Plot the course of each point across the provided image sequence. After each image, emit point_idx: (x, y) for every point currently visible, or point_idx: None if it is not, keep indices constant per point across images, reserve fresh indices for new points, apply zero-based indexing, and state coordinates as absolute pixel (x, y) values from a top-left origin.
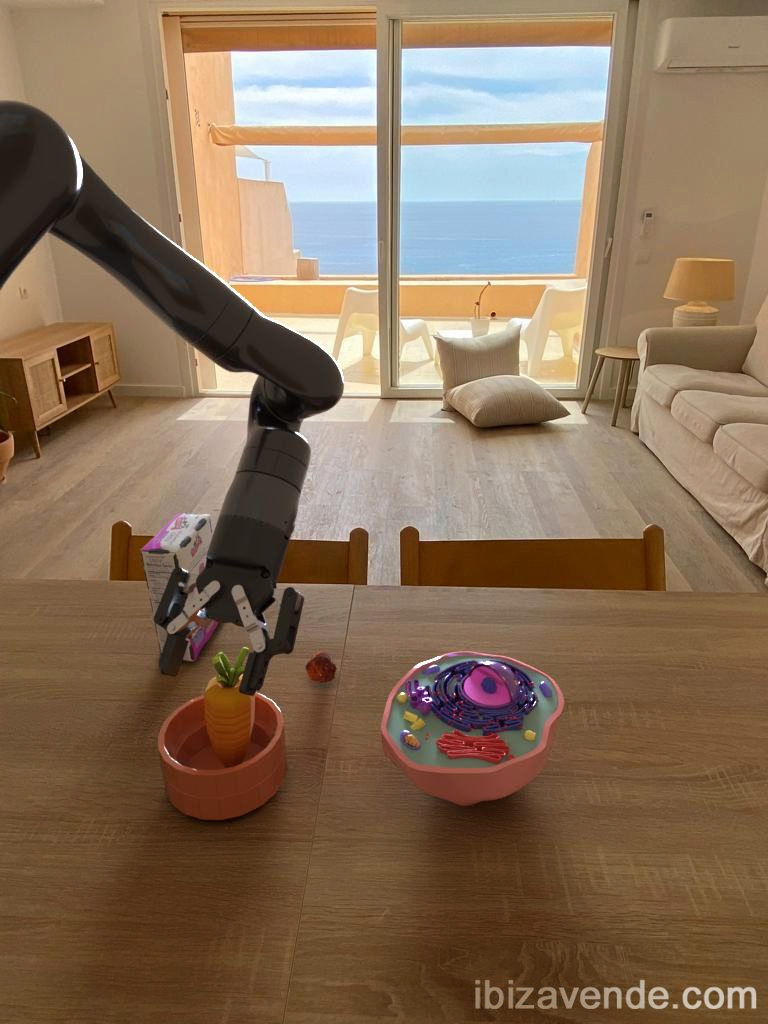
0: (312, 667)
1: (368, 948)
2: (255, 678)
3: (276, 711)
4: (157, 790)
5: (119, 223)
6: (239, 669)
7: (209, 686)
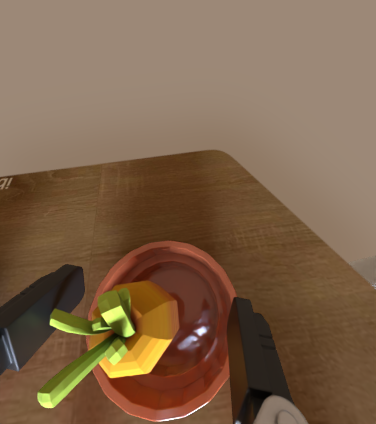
0: None
1: (59, 194)
2: (36, 285)
3: (97, 366)
4: None
5: None
6: (76, 321)
7: (158, 311)
